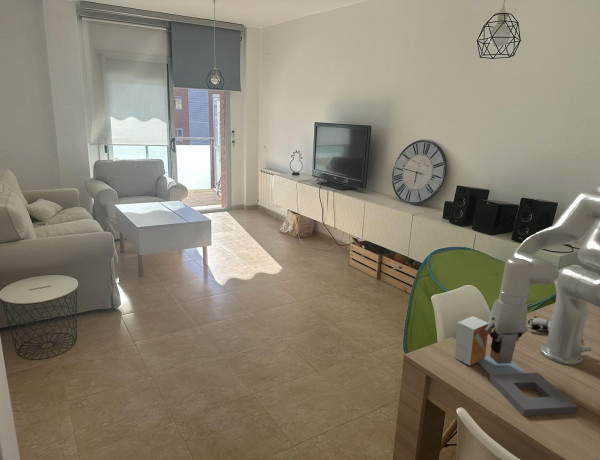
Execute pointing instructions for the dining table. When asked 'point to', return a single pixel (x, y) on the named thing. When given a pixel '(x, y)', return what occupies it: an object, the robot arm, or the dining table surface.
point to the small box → (471, 340)
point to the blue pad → (499, 367)
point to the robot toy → (539, 324)
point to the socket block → (527, 406)
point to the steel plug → (505, 349)
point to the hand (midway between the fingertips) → (502, 350)
